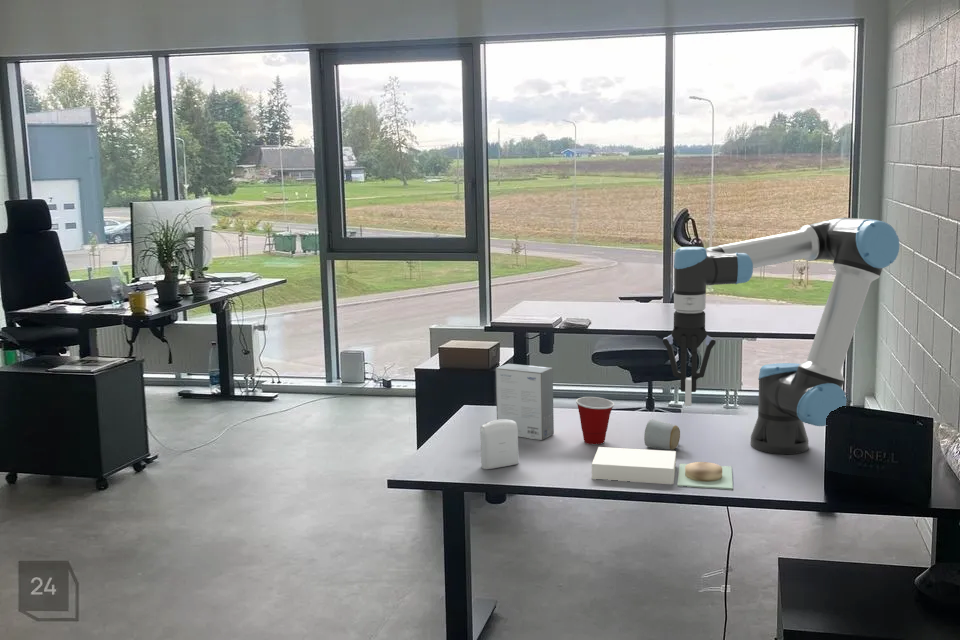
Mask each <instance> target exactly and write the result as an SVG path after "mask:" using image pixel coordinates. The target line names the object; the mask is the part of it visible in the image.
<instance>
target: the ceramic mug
mask: <svg viewBox="0 0 960 640" xmlns="http://www.w3.org/2000/svg"><path fill="white" fill-rule="evenodd" d="M680 430H681V429H680V427H679V426H678V425H676V424H673V423H670V422H664V421H661V420H656V419H649V421H648V422H647V423H646V425H645V430H644V438H643V439H644V445H645V446H646V447H647V448H653V449H657V450H663V451H675V449H677V448H678V447H679V446H678V445H679V444H680V440H681V431H680Z"/></svg>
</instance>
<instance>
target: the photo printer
mask: <svg viewBox="0 0 960 640" xmlns="http://www.w3.org/2000/svg"><path fill="white" fill-rule="evenodd" d="M479 431H480V432H479V433H480V434H479V435H480V436H479V437H480V461H481V462H480V463H481V465H480V466H481V468H482V469H483V470H491V469H497V468H503V467H509V466H515V465H518V464H519V437H518V428H517V424H516V422H514V421H513V420H507V419H500V420H497V419H494V420H491V421H488V422H485V423H483V424H482V425H480V429H479Z"/></svg>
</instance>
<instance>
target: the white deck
mask: <svg viewBox="0 0 960 640" xmlns="http://www.w3.org/2000/svg"><path fill="white" fill-rule="evenodd" d="M676 462H677V451H675V450H664V449H644V448H643V449H642V448H640V449H639V448H626V447H625V448H622V447H621V448H620V447H608V446H607V447H606V446H605V447H603V446H598V447H597V450H596V453H595V455H594V457H593V460H592V463H591V480H596V479H608V480H607V481H611V480H618V481H617V482H627V481H630V482H629V483H645V484H646V483H647V484H658V485H659V484H662V485H674V482H675V477H676V476H675V474H676V468H675V467H677V466H676V464H677V463H676Z"/></svg>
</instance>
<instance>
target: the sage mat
mask: <svg viewBox="0 0 960 640" xmlns="http://www.w3.org/2000/svg"><path fill="white" fill-rule="evenodd" d="M687 464H688V463H679V466H678V467H679V468H678V477H677V485H676V486H677V487H683V486H687V487H688V488H698V489H699V488H701V489H703V488H704V489H717V490H729V491H730V490H733V489H734V487H733V485H734V483H733V468H732V466H731V465H729V466H728V465H720V466H721V467H722V478H721V479H719V480H716V481H696V480H692V479H689V478H687V477H686V476H685V466H686V465H687ZM687 487H686V488H687Z"/></svg>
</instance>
